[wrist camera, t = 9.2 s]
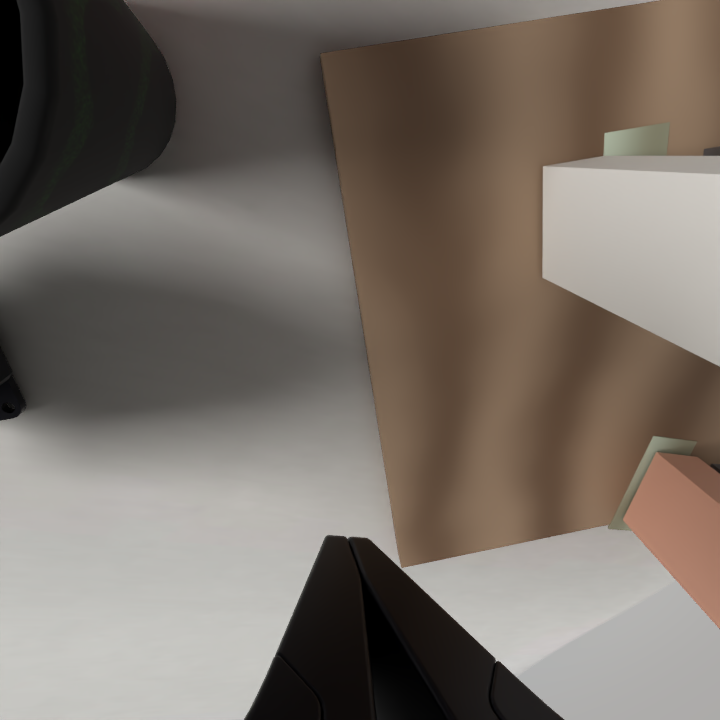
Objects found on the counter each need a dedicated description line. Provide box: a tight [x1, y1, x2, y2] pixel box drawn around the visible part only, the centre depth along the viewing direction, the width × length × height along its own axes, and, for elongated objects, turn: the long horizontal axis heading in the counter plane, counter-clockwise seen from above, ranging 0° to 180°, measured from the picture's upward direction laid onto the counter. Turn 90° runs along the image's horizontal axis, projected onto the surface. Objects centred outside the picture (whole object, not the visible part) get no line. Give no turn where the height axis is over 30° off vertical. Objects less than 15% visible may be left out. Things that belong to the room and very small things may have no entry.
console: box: [320, 0, 720, 568], centre depth 21 cm, size 19×25×4 cm
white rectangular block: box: [542, 156, 720, 367], centre depth 15 cm, size 2×4×10 cm, turn 9°
